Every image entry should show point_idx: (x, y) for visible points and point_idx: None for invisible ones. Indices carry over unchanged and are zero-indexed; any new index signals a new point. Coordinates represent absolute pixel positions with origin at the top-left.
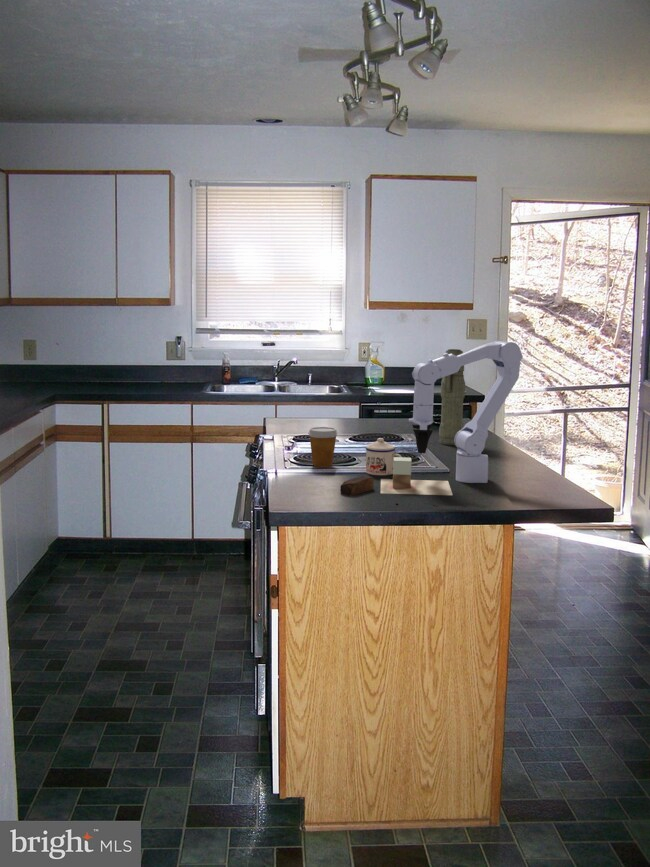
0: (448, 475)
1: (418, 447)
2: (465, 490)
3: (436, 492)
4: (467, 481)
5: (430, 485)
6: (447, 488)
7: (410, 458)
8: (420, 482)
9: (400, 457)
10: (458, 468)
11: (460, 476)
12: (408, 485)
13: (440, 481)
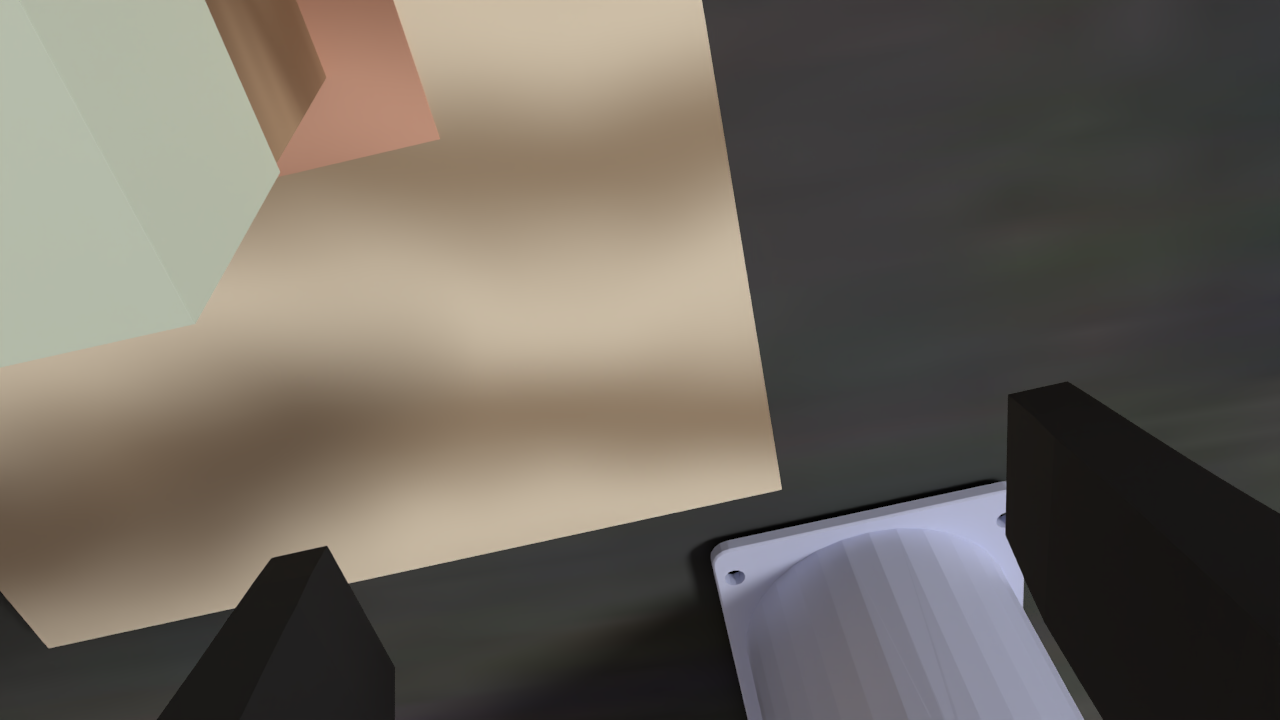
0: (1271, 385)
1: (198, 697)
2: (528, 643)
3: (64, 492)
4: (751, 665)
5: (426, 360)
6: (360, 552)
7: (62, 336)
8: (564, 200)
9: (12, 30)
10: (839, 703)
11: (789, 645)
12: None
13: (719, 423)
